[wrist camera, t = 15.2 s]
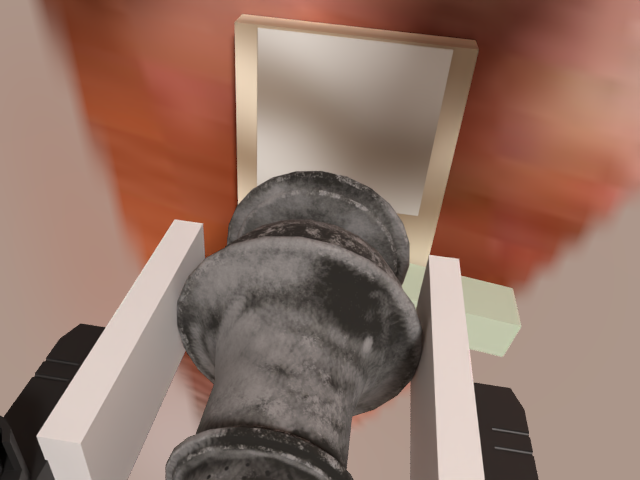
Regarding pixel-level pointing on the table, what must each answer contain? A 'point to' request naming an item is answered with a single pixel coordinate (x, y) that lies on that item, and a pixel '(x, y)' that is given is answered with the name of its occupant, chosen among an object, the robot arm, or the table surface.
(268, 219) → the grey stone chess piece
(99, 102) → the table surface
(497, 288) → the leg
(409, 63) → the board
